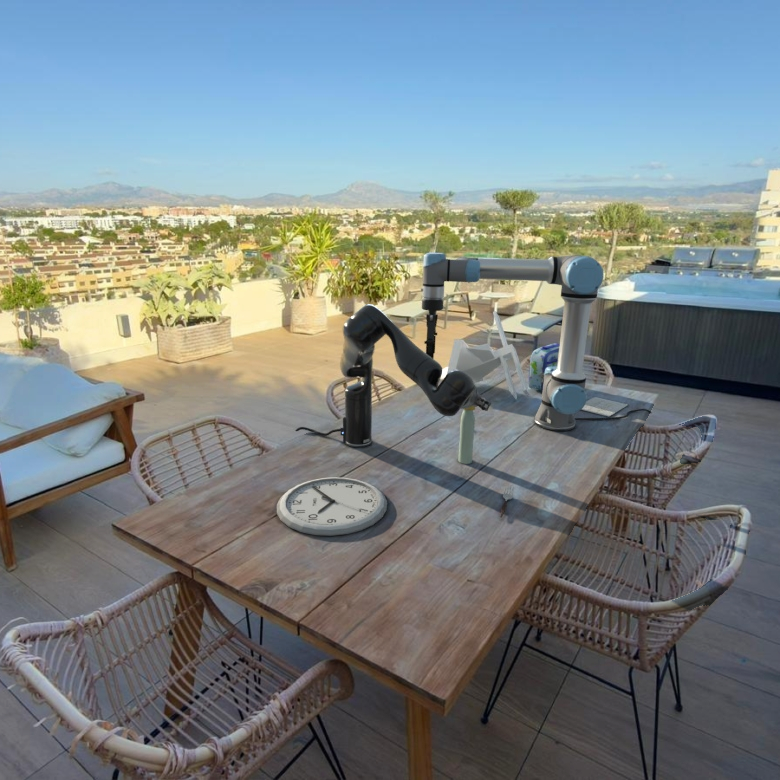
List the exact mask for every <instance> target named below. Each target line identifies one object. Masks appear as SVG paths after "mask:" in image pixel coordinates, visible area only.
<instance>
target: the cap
mask: <svg viewBox="0 0 780 780" xmlns="http://www.w3.org/2000/svg"><path fill="white" fill-rule="evenodd" d="M475 409H476V407H474V406H471V407H469V408H465V409H463V411H464V410H473V411H474V410H475Z"/></svg>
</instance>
